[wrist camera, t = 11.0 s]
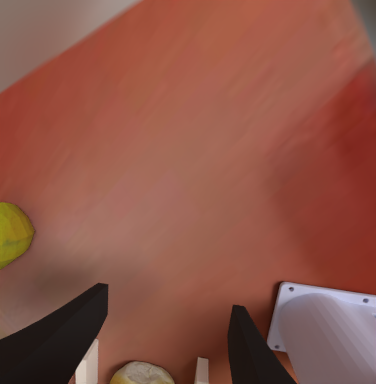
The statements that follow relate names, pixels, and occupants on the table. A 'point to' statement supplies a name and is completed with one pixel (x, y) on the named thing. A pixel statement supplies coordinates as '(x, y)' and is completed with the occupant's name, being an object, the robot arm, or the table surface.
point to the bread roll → (141, 374)
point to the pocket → (89, 368)
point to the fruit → (13, 233)
